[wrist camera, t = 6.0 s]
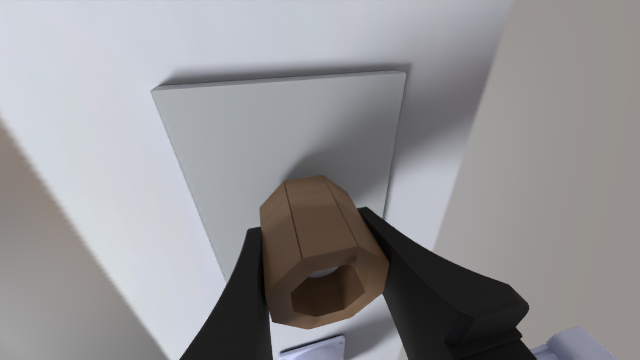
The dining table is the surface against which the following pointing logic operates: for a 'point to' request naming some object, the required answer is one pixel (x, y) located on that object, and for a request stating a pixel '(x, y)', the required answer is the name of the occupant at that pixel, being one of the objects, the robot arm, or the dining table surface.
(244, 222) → the post plate
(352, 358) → the dining table surface
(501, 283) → the robot arm
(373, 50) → the dining table surface
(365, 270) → the tube
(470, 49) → the dining table surface
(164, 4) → the dining table surface
